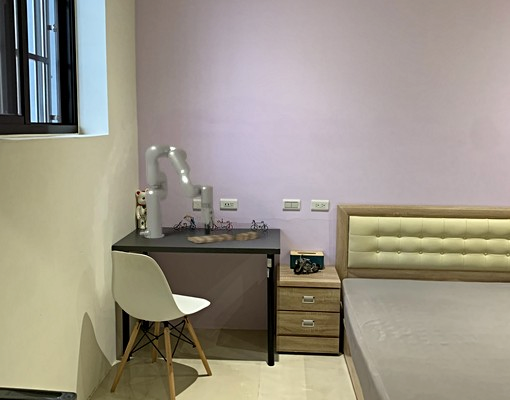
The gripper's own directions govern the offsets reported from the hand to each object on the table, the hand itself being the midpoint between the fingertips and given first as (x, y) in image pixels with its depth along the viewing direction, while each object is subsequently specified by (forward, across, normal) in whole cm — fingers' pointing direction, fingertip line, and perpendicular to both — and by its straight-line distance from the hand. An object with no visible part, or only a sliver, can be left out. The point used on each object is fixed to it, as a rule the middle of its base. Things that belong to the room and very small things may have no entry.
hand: (207, 234), depth 359 cm
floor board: (+4, 0, -11) cm, 12 cm away
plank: (+4, 0, +3) cm, 5 cm away
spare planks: (+4, -8, -25) cm, 26 cm away
